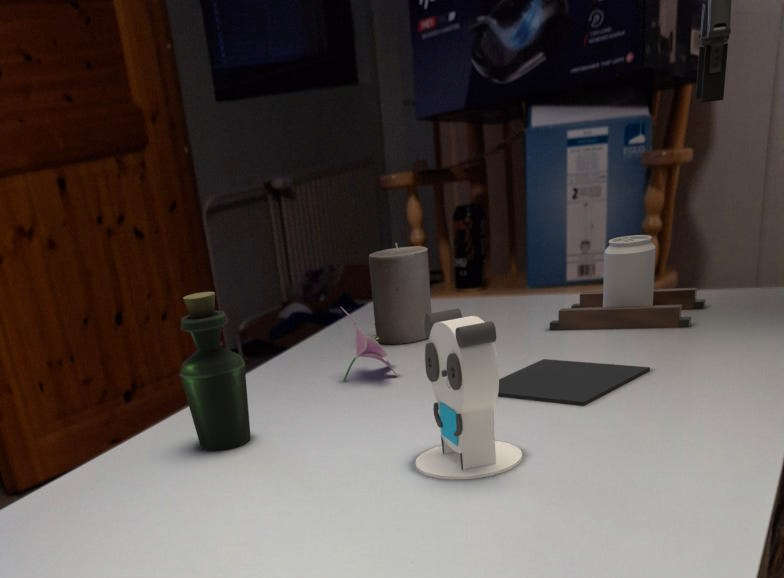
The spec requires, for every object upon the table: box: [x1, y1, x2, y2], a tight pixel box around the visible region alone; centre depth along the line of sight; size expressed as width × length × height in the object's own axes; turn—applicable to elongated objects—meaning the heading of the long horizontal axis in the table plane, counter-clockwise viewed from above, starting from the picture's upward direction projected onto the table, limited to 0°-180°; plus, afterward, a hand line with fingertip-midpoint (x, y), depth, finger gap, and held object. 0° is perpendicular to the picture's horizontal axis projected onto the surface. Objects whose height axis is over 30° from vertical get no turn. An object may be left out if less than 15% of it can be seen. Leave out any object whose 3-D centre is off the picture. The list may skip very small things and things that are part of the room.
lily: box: [340, 306, 399, 382], centre depth 136 cm, size 12×12×10 cm
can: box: [602, 234, 657, 307], centre depth 144 cm, size 8×8×12 cm
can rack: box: [549, 287, 707, 331], centre depth 147 cm, size 21×14×3 cm, turn 60°
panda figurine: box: [415, 307, 523, 481], centre depth 97 cm, size 12×11×15 cm
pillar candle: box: [368, 242, 432, 345], centre depth 153 cm, size 10×10×15 cm
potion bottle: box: [179, 291, 251, 451], centre depth 114 cm, size 8×8×18 cm
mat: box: [498, 358, 651, 407], centre depth 121 cm, size 16×16×1 cm
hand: (708, 99), depth 131 cm, fingers open, 13 cm apart
